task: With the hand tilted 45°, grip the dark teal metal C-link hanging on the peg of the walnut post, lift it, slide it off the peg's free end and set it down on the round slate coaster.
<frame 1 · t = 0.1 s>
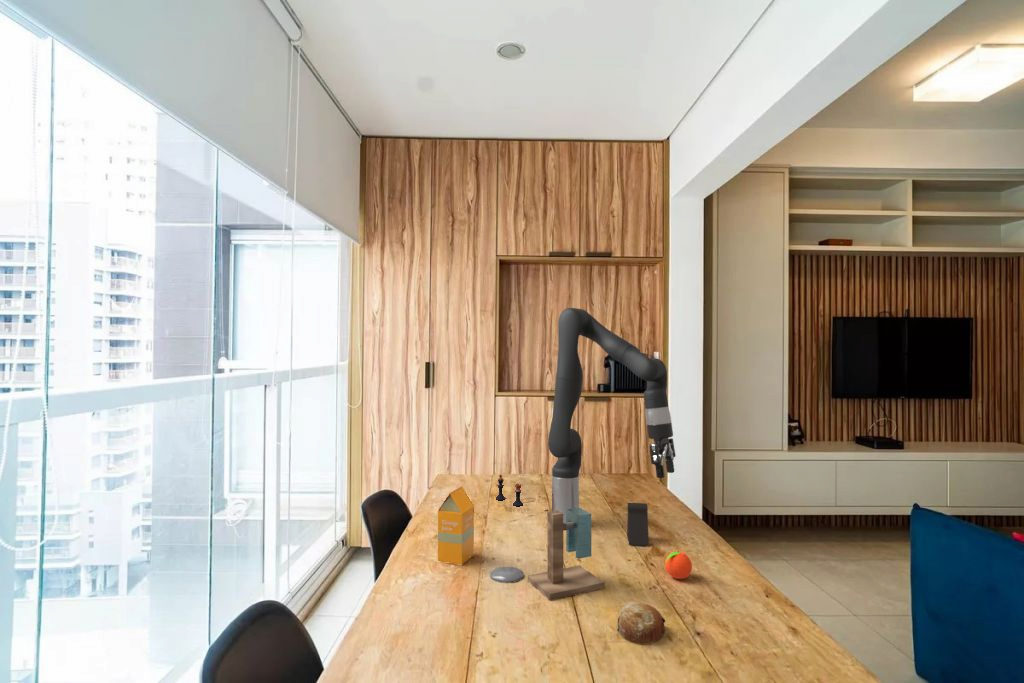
hand: (665, 475, 166), 22 cm above the table, tool pointing down, fingers open, 8 cm apart
bread roll: (641, 633, 117), on the table
clementine: (676, 579, 144), on the table
coaster: (506, 575, 146), on the table
stand: (565, 584, 140), on the table
orange juice: (455, 558, 158), on the table
black king chess piece: (509, 503, 218), on the table
phone stand: (637, 542, 172), on the table
c link: (578, 553, 142), point 7 cm above the table, touching stand
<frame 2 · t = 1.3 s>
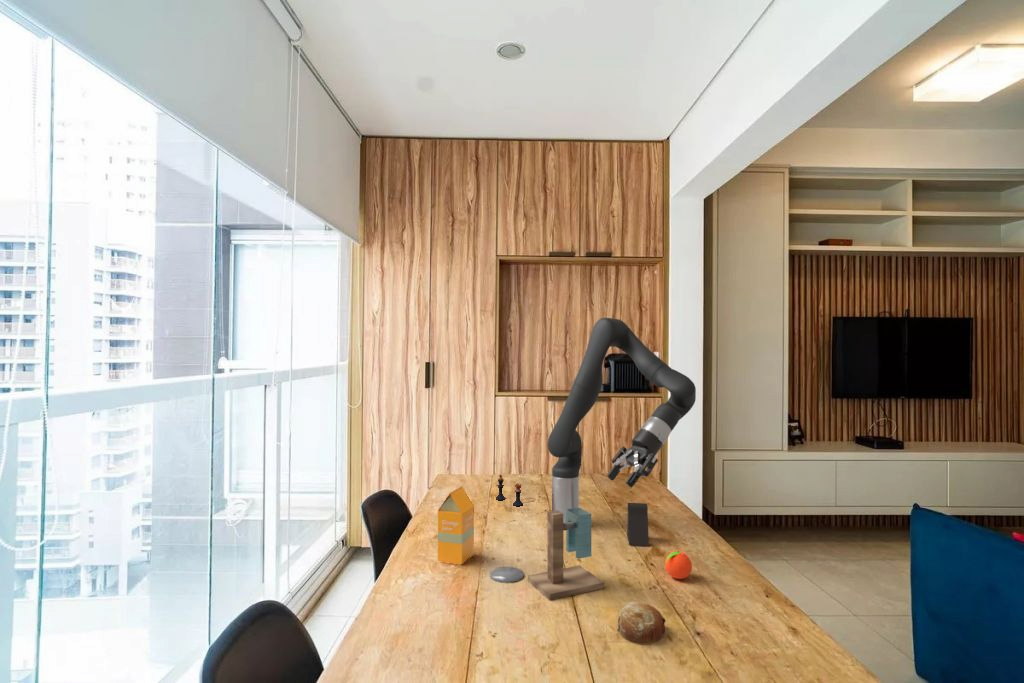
hand: (618, 481, 148), 25 cm above the table, tool tilted 45°, fingers open, 8 cm apart
nothing on the table moved.
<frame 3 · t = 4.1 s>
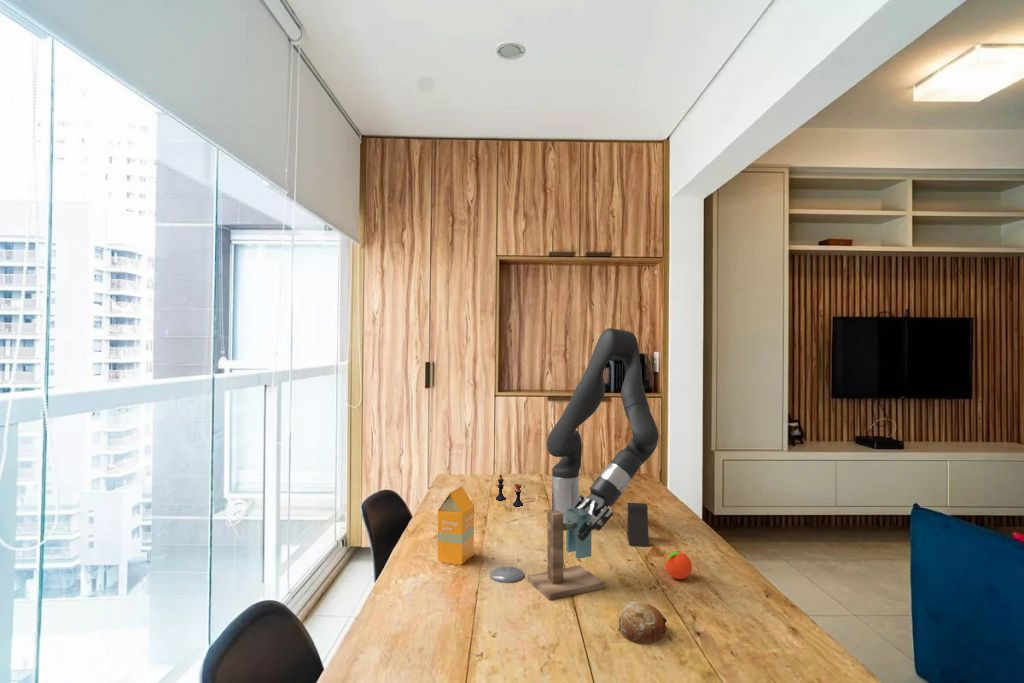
hand: (573, 534, 141), 13 cm above the table, tool tilted 45°, fingers closed on c link, 6 cm apart
c link: (578, 553, 142), point 7 cm above the table, touching gripper, stand
everything else where it was.
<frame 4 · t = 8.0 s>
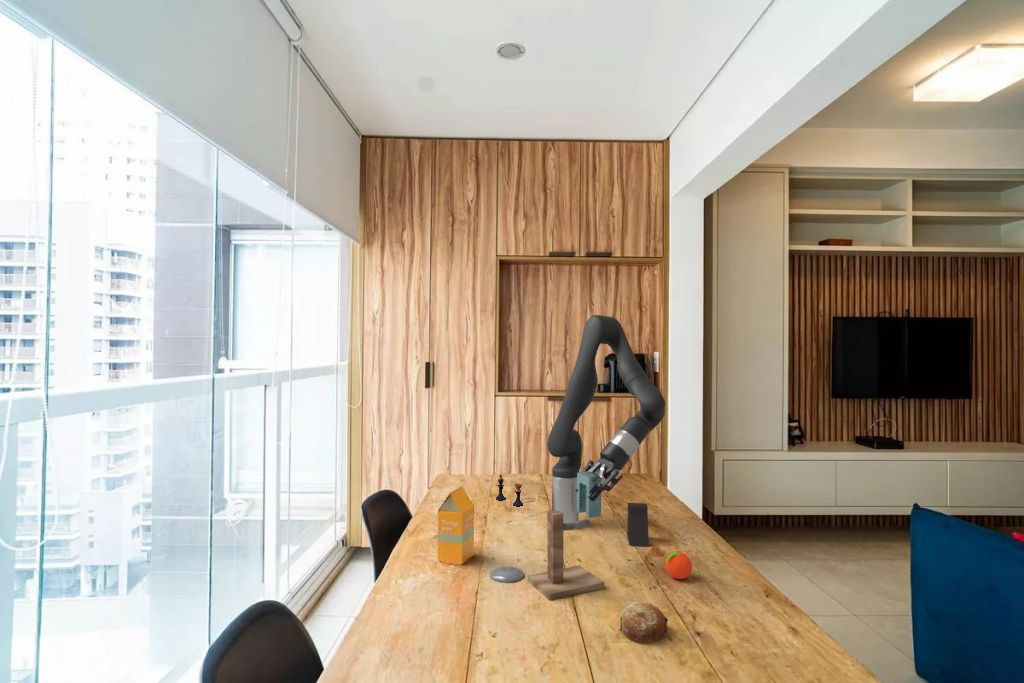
hand: (583, 495, 149), 21 cm above the table, tool tilted 45°, fingers closed on c link, 6 cm apart
c link: (588, 514, 150), point 16 cm above the table, touching gripper
everything else where it was.
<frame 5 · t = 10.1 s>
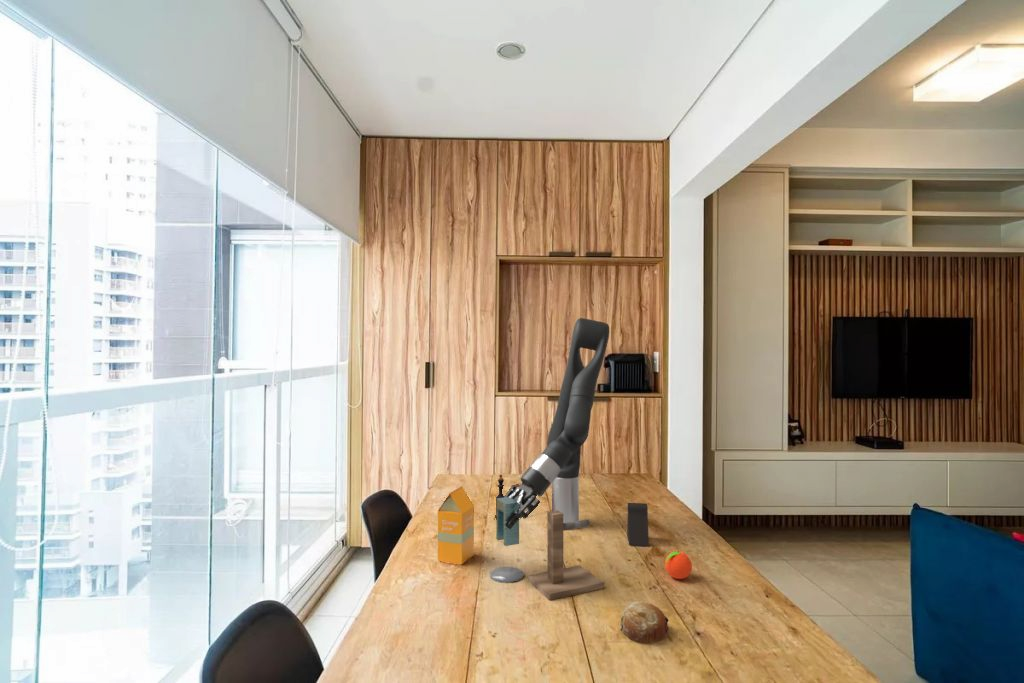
hand: (502, 523, 145), 14 cm above the table, tool tilted 45°, fingers closed on c link, 6 cm apart
c link: (507, 541, 146), point 9 cm above the table, touching gripper
everything else where it was.
when the fingers open (7 cm above the table, at t = 11.9 s): c link drops 2 cm, resting on coaster.
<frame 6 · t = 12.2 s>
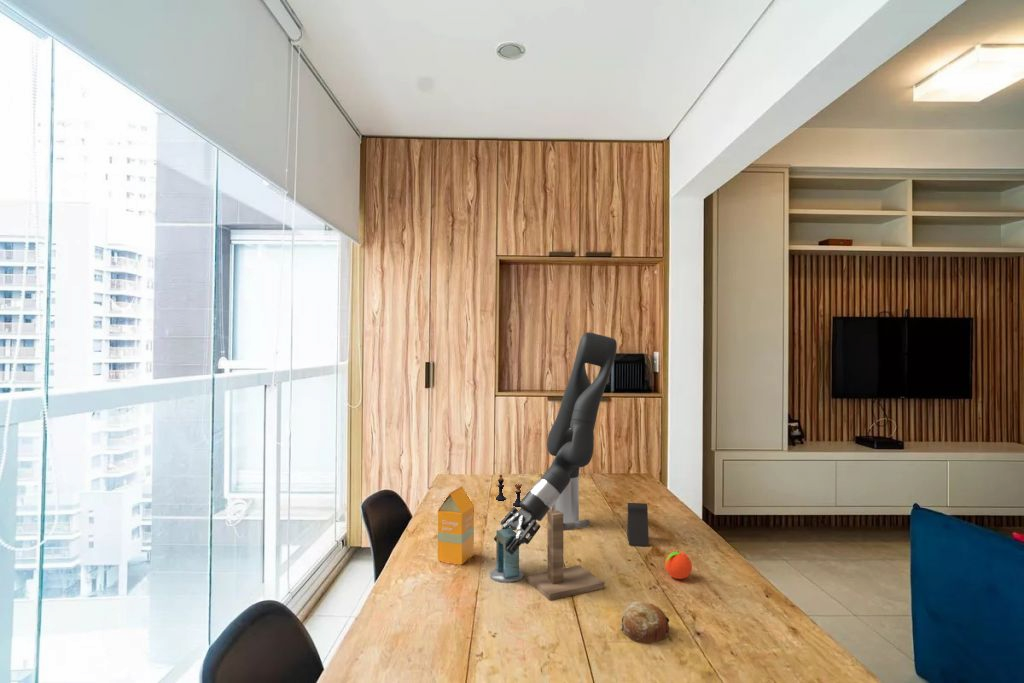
hand: (502, 547, 146), 8 cm above the table, tool tilted 45°, fingers open, 8 cm apart
c link: (507, 573, 146), point 1 cm above the table, touching coaster
everything else where it was.
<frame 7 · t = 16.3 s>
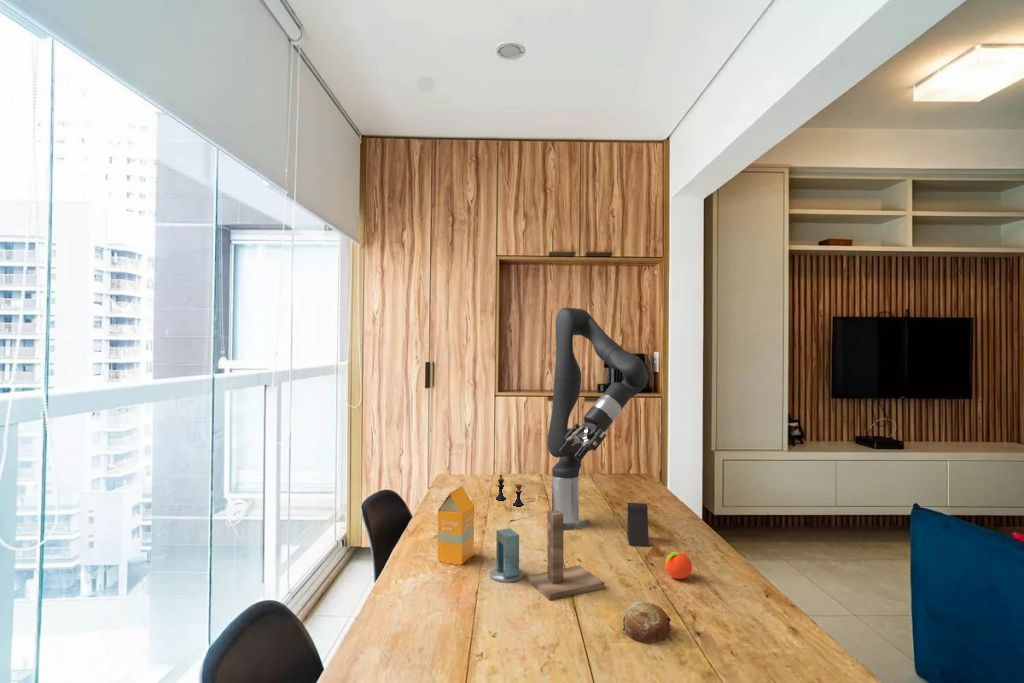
hand: (569, 456, 154), 31 cm above the table, tool tilted 45°, fingers open, 8 cm apart
at the end: c link 0.2 cm from the coaster (horizontally); c link point 0.6 cm above the table; the gripper is holding nothing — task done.
